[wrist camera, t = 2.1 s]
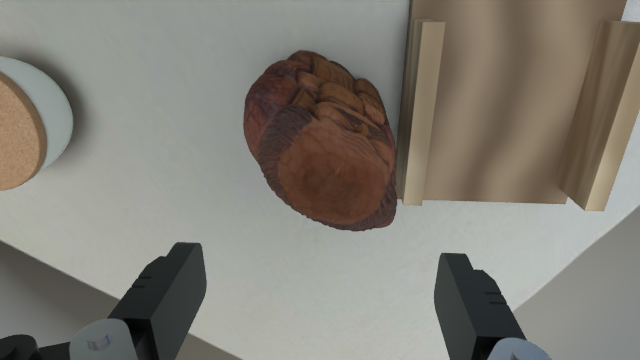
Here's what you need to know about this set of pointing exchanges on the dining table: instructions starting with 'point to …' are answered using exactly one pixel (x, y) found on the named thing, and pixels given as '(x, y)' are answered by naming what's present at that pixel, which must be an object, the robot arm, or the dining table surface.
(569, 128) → the light wood shelf
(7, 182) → the lidded jar
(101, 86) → the dining table surface
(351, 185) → the wooden figurine
